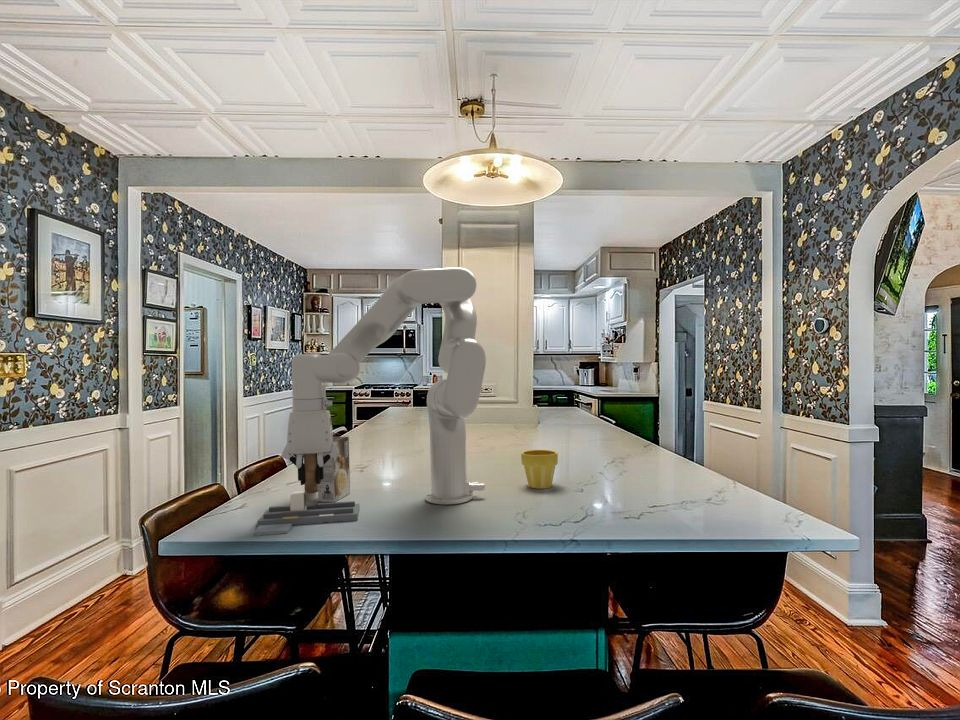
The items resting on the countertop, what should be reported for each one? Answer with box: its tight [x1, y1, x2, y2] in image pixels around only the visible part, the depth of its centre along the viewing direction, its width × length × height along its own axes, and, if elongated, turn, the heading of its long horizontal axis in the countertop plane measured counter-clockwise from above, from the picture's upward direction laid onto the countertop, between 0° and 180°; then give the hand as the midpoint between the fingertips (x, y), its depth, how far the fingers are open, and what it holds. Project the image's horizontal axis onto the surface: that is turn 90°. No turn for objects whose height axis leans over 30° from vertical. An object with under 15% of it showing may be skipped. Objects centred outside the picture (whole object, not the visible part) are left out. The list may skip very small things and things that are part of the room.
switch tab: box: [289, 490, 306, 511], centre depth 124 cm, size 3×4×4 cm
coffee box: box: [317, 436, 351, 503], centre depth 143 cm, size 9×6×16 cm
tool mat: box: [253, 523, 293, 536], centre depth 116 cm, size 7×5×1 cm
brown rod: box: [303, 454, 319, 506], centre depth 124 cm, size 3×3×14 cm
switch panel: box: [256, 500, 360, 527], centre depth 125 cm, size 22×9×2 cm, turn 100°
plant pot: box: [520, 449, 559, 490], centre depth 151 cm, size 10×10×10 cm
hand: (311, 482), depth 125 cm, fingers closed on brown rod, 3 cm apart
